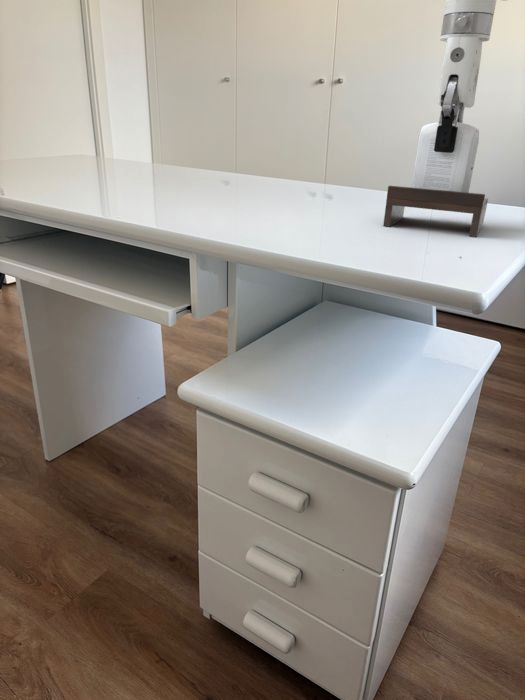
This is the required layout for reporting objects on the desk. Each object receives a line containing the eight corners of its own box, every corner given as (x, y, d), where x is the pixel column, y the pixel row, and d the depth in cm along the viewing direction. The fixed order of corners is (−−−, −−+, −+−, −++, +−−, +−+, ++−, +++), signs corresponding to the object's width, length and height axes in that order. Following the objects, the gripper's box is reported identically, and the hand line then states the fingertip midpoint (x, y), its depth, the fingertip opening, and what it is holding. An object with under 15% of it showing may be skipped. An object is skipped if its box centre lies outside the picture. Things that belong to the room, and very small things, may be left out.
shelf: (397, 216, 106) (402, 179, 103) (482, 226, 100) (490, 187, 97) (383, 226, 97) (388, 186, 94) (476, 237, 91) (484, 194, 88)
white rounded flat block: (471, 198, 95) (485, 122, 90) (462, 201, 92) (477, 122, 86) (416, 191, 100) (426, 120, 95) (406, 194, 97) (417, 120, 92)
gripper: (485, 21, 77) (462, 156, 84) (495, 35, 91) (474, 150, 98) (432, 23, 80) (414, 152, 87) (449, 36, 94) (432, 147, 101)
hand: (446, 150), depth 93 cm, fingers closed on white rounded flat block, 5 cm apart
